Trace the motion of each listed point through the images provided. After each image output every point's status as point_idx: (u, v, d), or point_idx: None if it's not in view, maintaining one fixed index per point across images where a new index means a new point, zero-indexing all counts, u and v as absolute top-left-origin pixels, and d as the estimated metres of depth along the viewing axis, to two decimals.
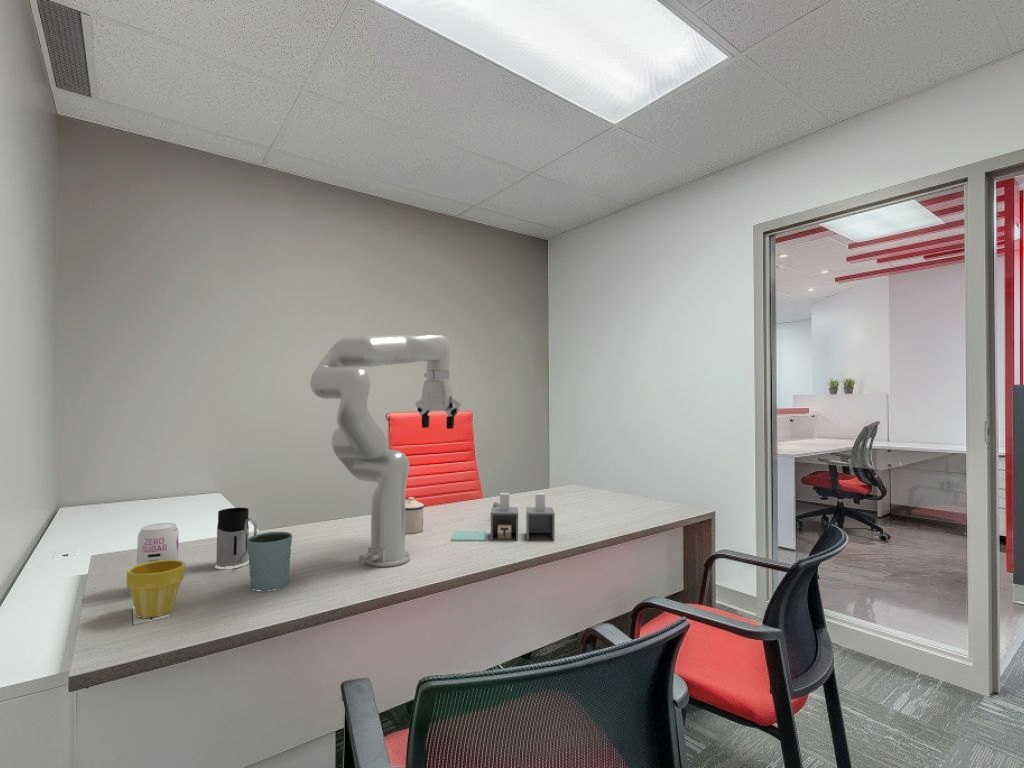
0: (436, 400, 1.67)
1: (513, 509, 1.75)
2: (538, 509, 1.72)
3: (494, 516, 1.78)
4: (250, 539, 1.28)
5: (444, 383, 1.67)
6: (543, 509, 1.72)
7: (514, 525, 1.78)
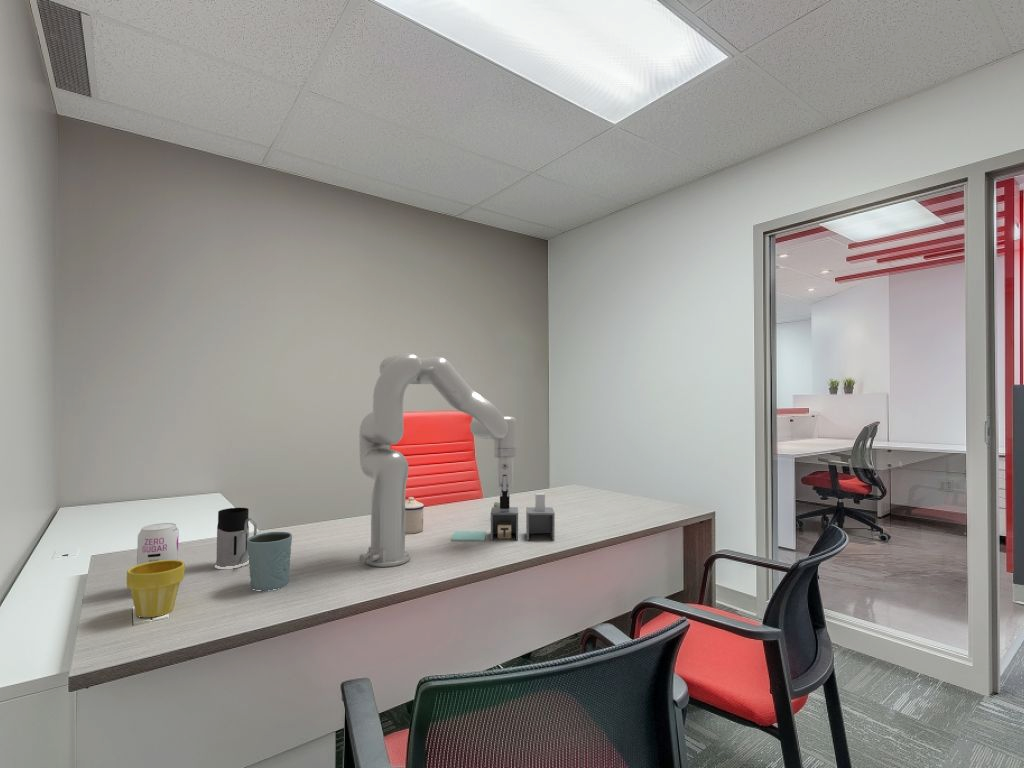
0: None
1: (513, 509, 1.75)
2: (538, 509, 1.72)
3: (494, 516, 1.78)
4: (250, 539, 1.28)
5: None
6: (543, 509, 1.72)
7: (514, 525, 1.78)
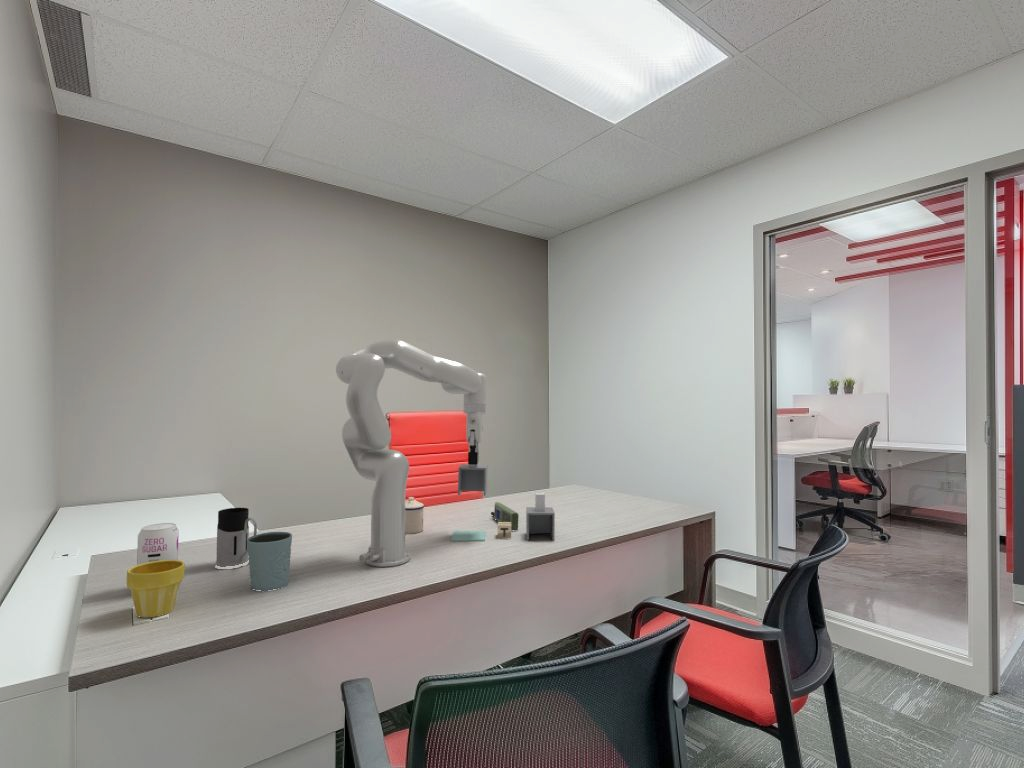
0: (482, 432, 1.76)
1: (482, 466, 1.75)
2: (538, 509, 1.72)
3: (464, 473, 1.78)
4: (250, 539, 1.28)
5: None
6: (543, 509, 1.72)
7: (483, 483, 1.78)
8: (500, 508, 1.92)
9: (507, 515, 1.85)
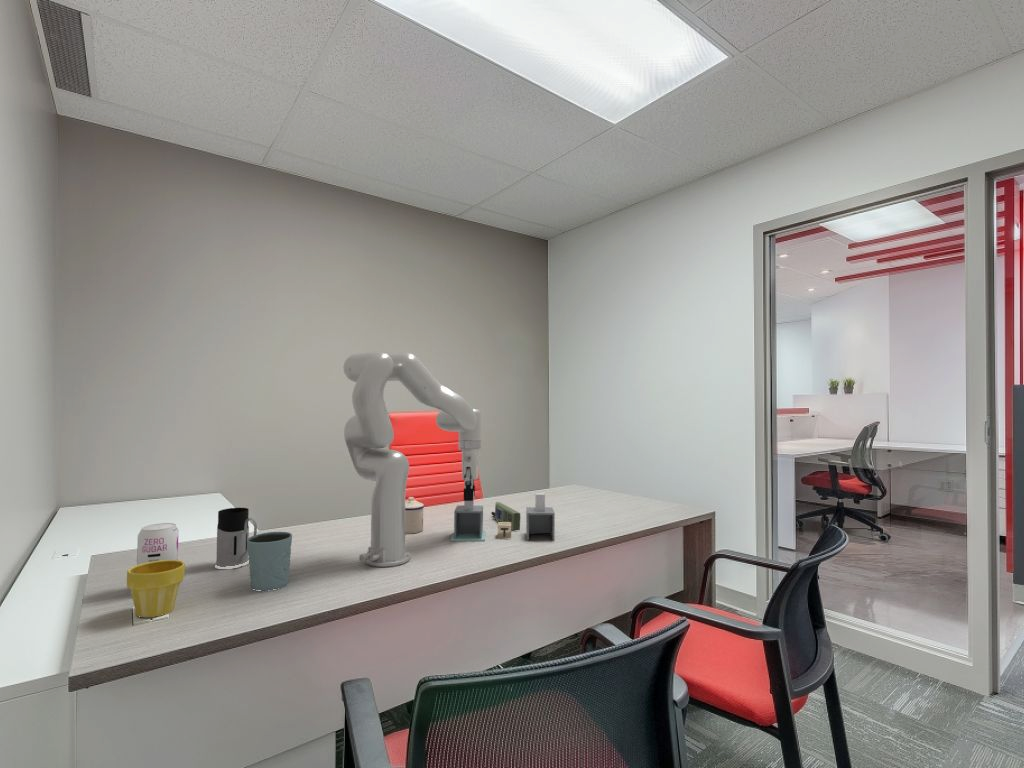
0: None
1: (478, 507, 1.75)
2: (538, 509, 1.72)
3: (459, 514, 1.78)
4: (250, 539, 1.28)
5: None
6: (543, 509, 1.72)
7: (479, 523, 1.78)
8: (501, 508, 1.92)
9: (509, 515, 1.85)
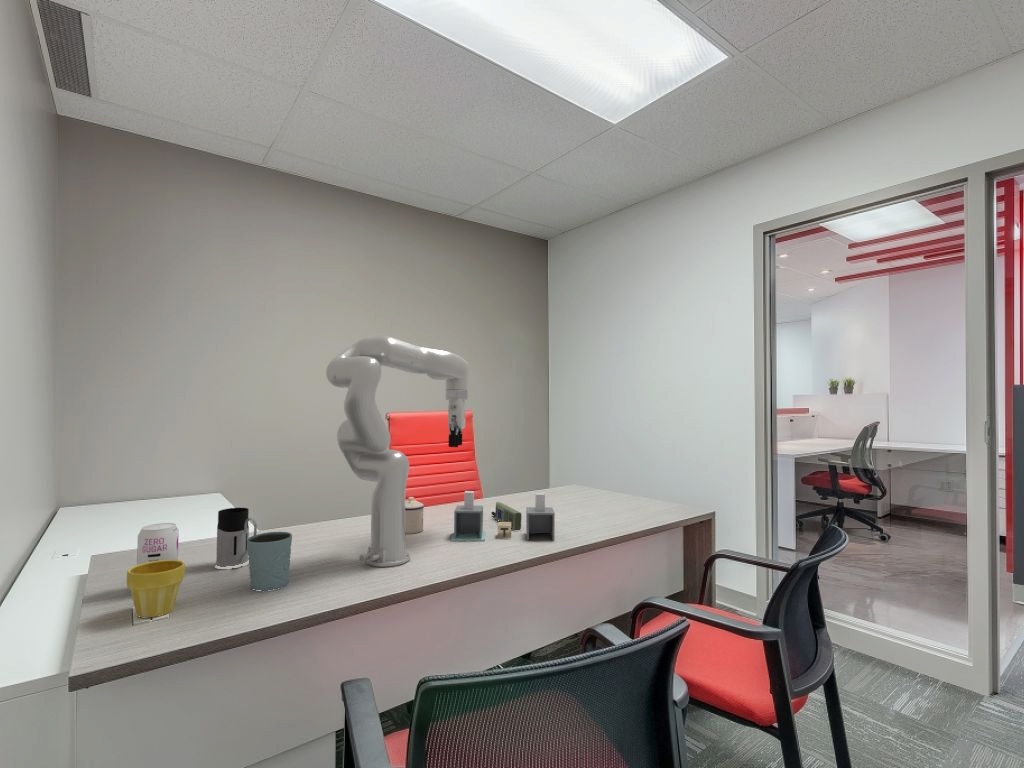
0: (464, 419, 1.77)
1: (478, 507, 1.75)
2: (538, 509, 1.72)
3: (459, 514, 1.78)
4: (250, 539, 1.28)
5: None
6: (543, 509, 1.72)
7: (479, 523, 1.78)
8: (502, 508, 1.92)
9: (510, 515, 1.85)
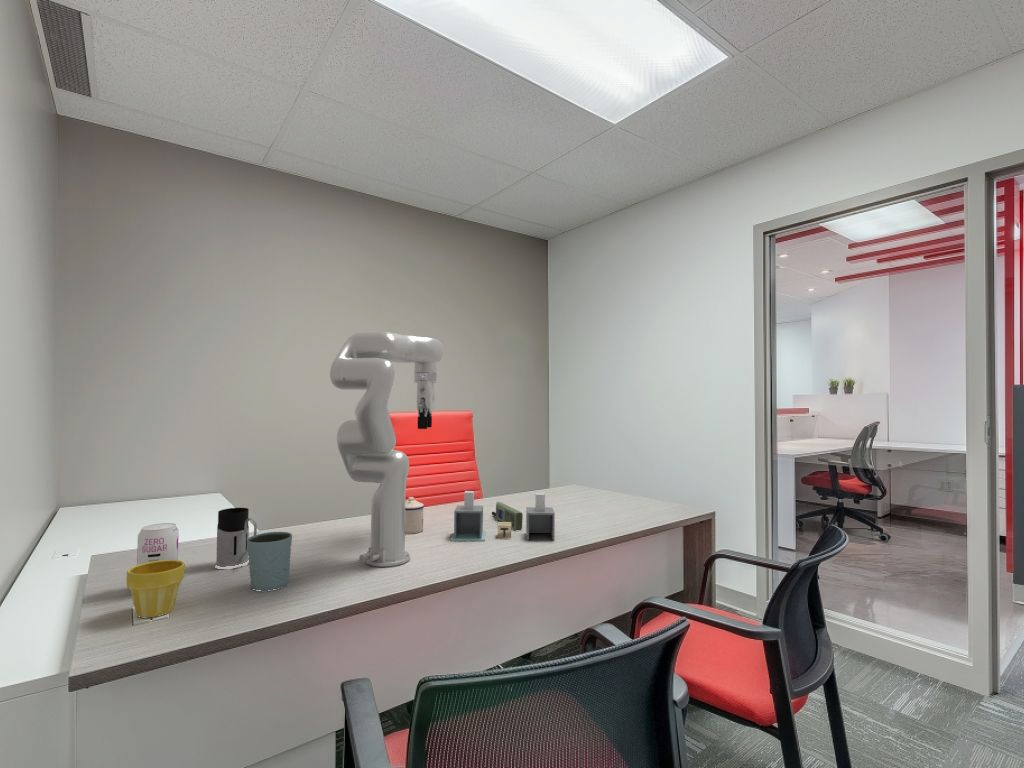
0: (433, 401, 1.79)
1: (478, 507, 1.75)
2: (538, 509, 1.72)
3: (459, 514, 1.78)
4: (250, 539, 1.28)
5: None
6: (543, 509, 1.72)
7: (479, 523, 1.78)
8: (503, 508, 1.92)
9: (511, 515, 1.85)
